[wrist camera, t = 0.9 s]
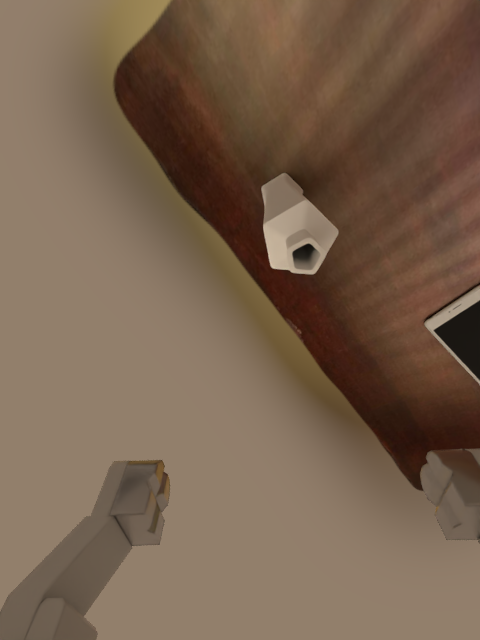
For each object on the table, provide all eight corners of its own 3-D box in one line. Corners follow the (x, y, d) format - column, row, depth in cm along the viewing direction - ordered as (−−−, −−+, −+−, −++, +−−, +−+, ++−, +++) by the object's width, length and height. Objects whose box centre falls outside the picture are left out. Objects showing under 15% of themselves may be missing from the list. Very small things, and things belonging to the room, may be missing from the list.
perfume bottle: (271, 230, 32) (287, 308, 19) (249, 190, 30) (250, 248, 17) (314, 205, 30) (361, 272, 18) (294, 161, 28) (331, 202, 16)
